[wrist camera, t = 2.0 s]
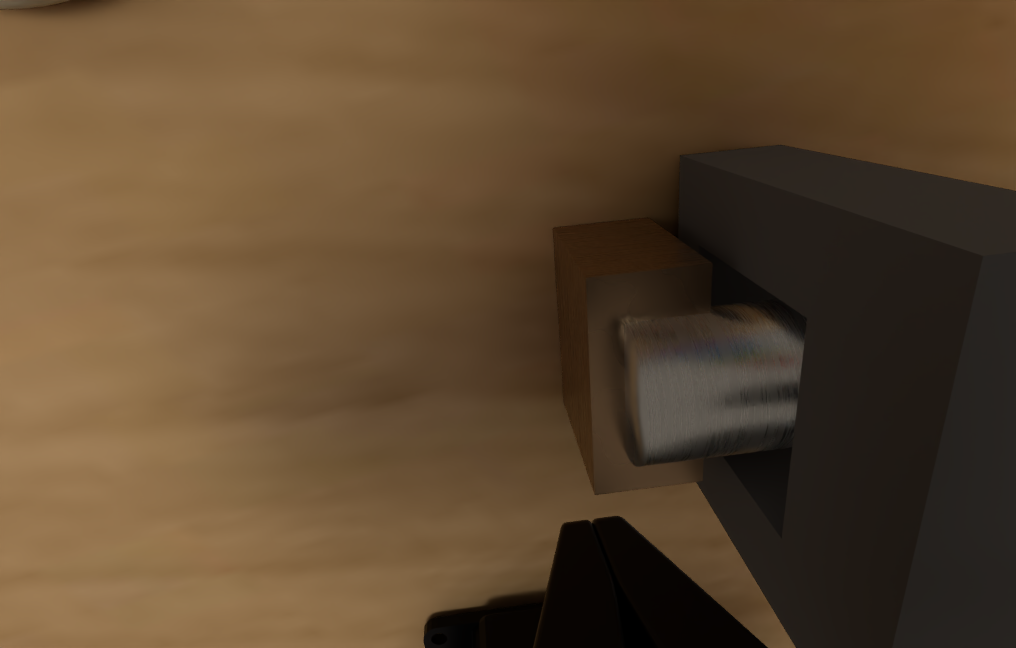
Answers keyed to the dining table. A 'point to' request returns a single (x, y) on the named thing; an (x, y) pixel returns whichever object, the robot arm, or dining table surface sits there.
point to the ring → (872, 395)
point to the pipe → (666, 358)
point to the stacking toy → (27, 3)
